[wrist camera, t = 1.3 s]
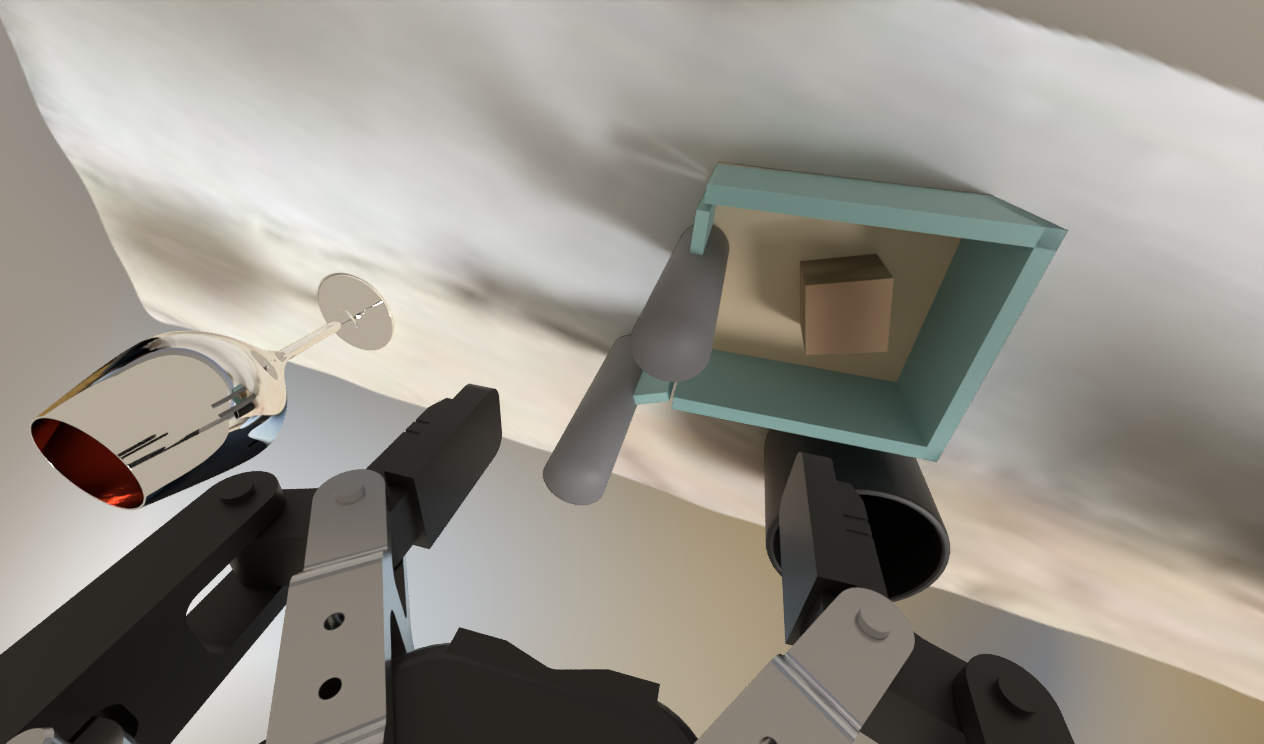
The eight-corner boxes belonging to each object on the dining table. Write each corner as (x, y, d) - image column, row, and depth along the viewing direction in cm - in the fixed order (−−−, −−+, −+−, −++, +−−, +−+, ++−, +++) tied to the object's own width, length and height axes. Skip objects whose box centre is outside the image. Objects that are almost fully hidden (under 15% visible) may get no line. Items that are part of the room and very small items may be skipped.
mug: (881, 529, 37) (913, 644, 29) (740, 464, 37) (736, 562, 29) (973, 448, 32) (1041, 562, 24) (810, 371, 31) (827, 461, 24)
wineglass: (420, 357, 38) (201, 533, 23) (339, 360, 41) (91, 522, 25) (378, 258, 34) (84, 392, 19) (291, 267, 37) (-34, 393, 22)
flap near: (741, 190, 26) (729, 262, 15) (724, 275, 29) (704, 388, 18) (686, 182, 26) (638, 248, 16) (675, 268, 29) (627, 373, 18)
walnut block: (876, 253, 26) (893, 278, 23) (871, 320, 28) (887, 351, 25) (799, 261, 27) (805, 285, 24) (800, 324, 29) (805, 355, 26)
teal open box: (993, 195, 24) (1067, 230, 18) (902, 390, 31) (936, 461, 25) (718, 162, 26) (707, 183, 20) (687, 350, 33) (671, 408, 27)
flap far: (607, 336, 33) (533, 458, 22) (677, 325, 31) (635, 452, 20) (619, 373, 34) (555, 506, 23) (687, 365, 32) (651, 503, 22)
